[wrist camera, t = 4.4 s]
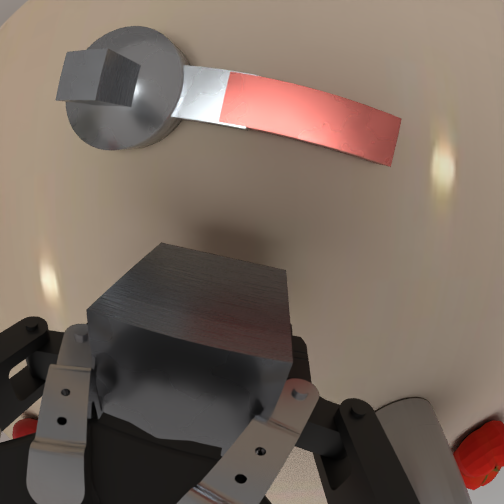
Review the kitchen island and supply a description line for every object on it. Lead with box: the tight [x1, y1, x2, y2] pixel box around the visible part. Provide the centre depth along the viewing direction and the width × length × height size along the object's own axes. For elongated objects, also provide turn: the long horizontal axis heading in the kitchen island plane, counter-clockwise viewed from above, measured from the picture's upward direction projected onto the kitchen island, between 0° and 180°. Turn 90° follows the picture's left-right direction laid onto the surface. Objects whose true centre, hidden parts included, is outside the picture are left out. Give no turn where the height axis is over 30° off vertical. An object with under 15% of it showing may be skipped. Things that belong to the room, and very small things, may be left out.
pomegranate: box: [12, 418, 38, 439], centre depth 29 cm, size 10×10×9 cm
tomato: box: [453, 420, 504, 490], centre depth 25 cm, size 11×12×9 cm
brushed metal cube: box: [87, 243, 293, 456], centre depth 11 cm, size 6×6×6 cm
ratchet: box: [56, 26, 401, 167], centre depth 14 cm, size 20×8×7 cm, turn 78°
